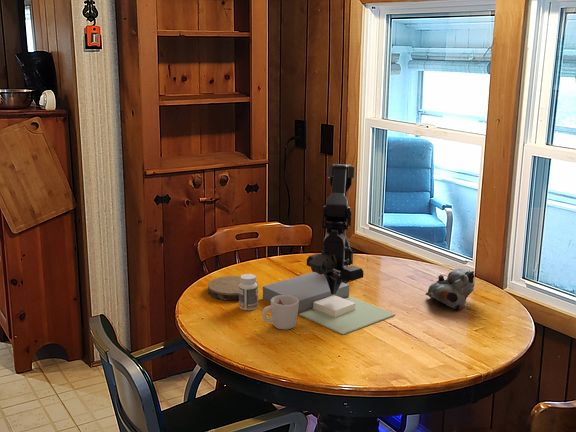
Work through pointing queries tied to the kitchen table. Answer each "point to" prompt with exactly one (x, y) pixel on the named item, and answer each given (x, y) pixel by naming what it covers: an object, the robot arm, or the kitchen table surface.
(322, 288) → the gray rectangular block
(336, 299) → the ceramic tile
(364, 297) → the kitchen table surface
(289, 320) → the cup
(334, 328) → the rubber mat
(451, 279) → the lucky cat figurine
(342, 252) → the robot arm
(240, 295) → the pill bottle
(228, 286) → the grey brown round disc
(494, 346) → the kitchen table surface
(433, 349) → the kitchen table surface
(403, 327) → the kitchen table surface
